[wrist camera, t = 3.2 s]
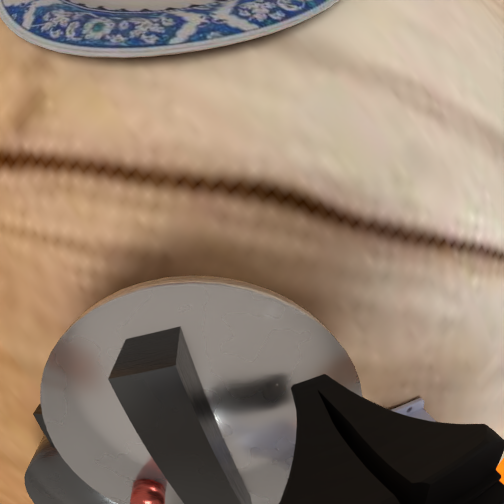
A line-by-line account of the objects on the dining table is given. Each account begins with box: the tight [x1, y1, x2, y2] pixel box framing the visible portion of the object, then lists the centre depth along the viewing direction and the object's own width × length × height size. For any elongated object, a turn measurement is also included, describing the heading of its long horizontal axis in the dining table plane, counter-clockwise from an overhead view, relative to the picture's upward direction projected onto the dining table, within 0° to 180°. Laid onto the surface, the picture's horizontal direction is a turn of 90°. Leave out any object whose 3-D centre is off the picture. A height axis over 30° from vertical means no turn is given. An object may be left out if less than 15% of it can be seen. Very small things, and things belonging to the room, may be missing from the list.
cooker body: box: [25, 404, 117, 504], centre depth 17 cm, size 16×18×5 cm
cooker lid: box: [40, 275, 362, 504], centre depth 11 cm, size 16×14×4 cm
